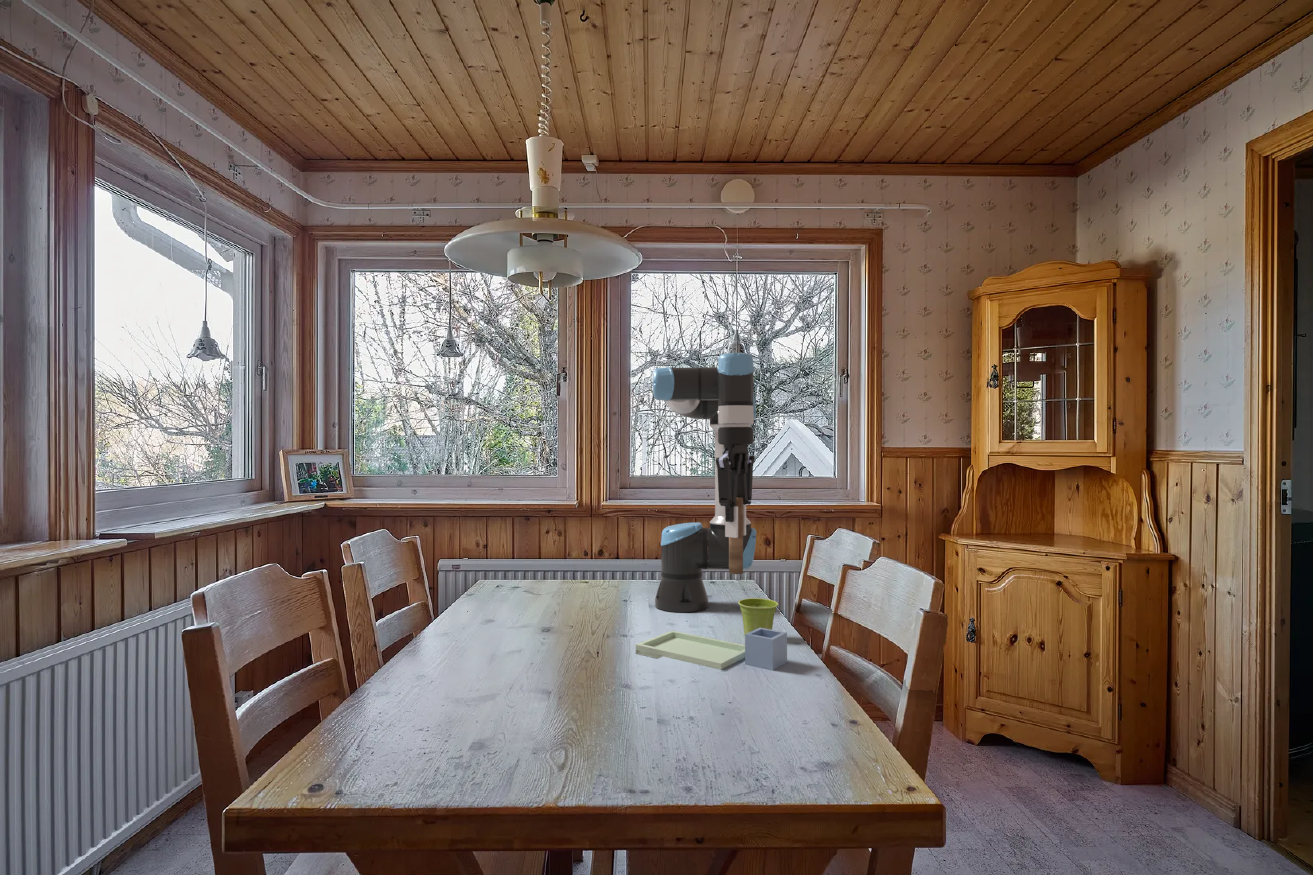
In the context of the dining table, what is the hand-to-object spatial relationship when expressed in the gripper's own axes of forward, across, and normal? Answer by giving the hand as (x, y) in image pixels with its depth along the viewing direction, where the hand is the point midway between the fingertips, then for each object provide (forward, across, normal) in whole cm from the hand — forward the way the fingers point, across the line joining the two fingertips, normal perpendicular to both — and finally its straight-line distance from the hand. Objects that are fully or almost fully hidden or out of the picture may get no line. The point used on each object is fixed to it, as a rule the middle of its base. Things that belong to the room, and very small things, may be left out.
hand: (735, 535), depth 148 cm
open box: (+27, 0, +7) cm, 28 cm away
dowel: (+8, 0, 0) cm, 8 cm away
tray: (+27, +2, -9) cm, 28 cm away
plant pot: (+27, -17, -3) cm, 32 cm away
